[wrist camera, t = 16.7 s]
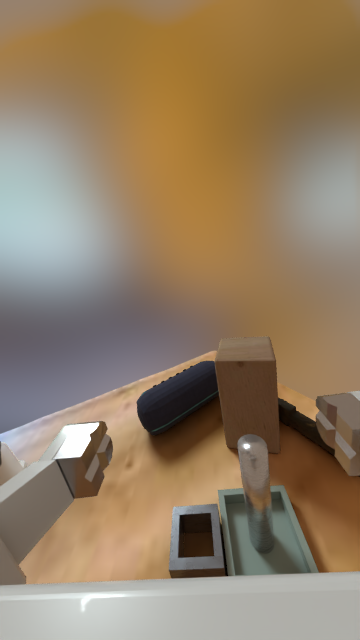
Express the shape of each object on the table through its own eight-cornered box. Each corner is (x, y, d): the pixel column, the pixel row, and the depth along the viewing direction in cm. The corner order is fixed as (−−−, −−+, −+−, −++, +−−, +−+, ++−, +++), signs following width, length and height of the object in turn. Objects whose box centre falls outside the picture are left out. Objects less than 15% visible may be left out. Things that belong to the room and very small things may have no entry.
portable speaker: (209, 380, 66) (204, 352, 63) (233, 394, 57) (230, 362, 55) (135, 425, 53) (126, 391, 50) (154, 451, 45) (143, 413, 42)
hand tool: (374, 468, 35) (377, 446, 33) (361, 482, 33) (363, 459, 32) (277, 405, 51) (277, 389, 50) (265, 412, 50) (264, 396, 48)
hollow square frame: (175, 589, 26) (168, 570, 24) (177, 525, 32) (173, 507, 30) (227, 588, 25) (224, 568, 24) (220, 522, 31) (217, 503, 30)
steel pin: (252, 554, 27) (241, 460, 22) (246, 523, 30) (234, 435, 25) (278, 553, 27) (271, 457, 22) (269, 522, 30) (261, 432, 25)
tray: (231, 598, 24) (229, 586, 23) (219, 501, 34) (217, 490, 33) (322, 596, 23) (323, 582, 22) (284, 496, 33) (283, 485, 32)
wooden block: (280, 455, 39) (276, 360, 33) (226, 448, 42) (213, 360, 37) (274, 415, 48) (269, 335, 42) (229, 412, 51) (220, 337, 46)
